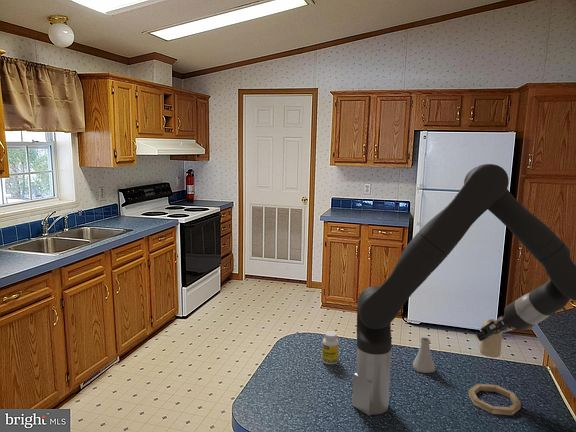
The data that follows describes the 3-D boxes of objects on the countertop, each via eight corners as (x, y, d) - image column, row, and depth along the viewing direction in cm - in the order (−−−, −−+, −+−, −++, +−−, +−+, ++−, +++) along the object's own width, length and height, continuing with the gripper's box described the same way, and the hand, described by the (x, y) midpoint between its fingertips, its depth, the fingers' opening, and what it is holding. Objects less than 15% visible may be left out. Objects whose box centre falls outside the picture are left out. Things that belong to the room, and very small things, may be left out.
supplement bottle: (320, 363, 140) (320, 335, 139) (323, 355, 146) (324, 329, 144) (336, 366, 139) (337, 337, 137) (339, 358, 144) (340, 331, 142)
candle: (482, 347, 128) (484, 315, 127) (502, 352, 125) (505, 320, 123) (477, 353, 124) (479, 321, 123) (497, 359, 121) (500, 326, 119)
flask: (438, 374, 134) (440, 344, 133) (415, 373, 134) (417, 344, 133) (431, 362, 142) (433, 334, 140) (409, 362, 142) (411, 334, 140)
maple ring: (505, 420, 112) (506, 415, 111) (461, 398, 121) (462, 393, 121) (526, 403, 119) (527, 398, 119) (483, 384, 129) (483, 379, 128)
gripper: (535, 294, 118) (494, 319, 131) (501, 302, 112) (461, 328, 124) (553, 318, 114) (508, 342, 127) (519, 329, 108) (475, 353, 120)
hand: (485, 335), depth 125 cm, fingers closed on candle, 5 cm apart
